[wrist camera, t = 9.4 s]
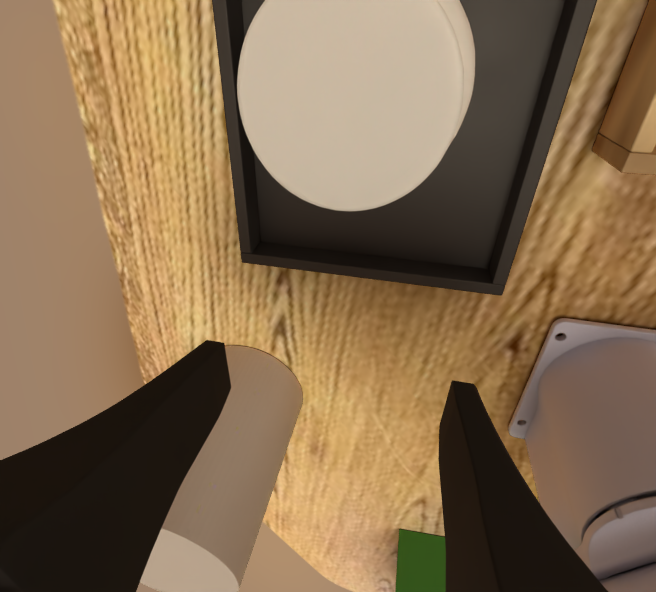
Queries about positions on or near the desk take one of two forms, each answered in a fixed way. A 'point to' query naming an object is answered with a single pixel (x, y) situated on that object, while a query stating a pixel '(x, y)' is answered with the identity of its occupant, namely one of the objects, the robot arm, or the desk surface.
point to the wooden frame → (633, 107)
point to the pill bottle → (354, 94)
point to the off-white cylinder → (228, 481)
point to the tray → (445, 180)
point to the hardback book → (421, 562)
